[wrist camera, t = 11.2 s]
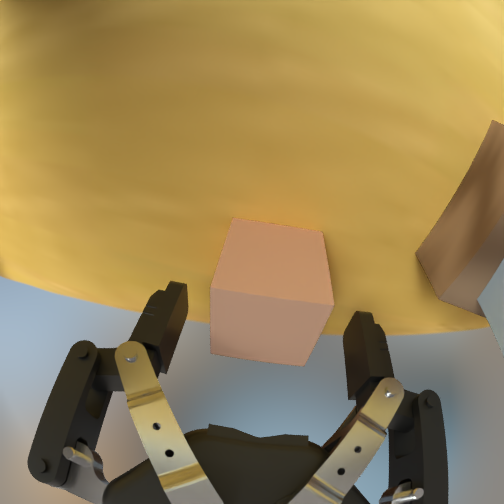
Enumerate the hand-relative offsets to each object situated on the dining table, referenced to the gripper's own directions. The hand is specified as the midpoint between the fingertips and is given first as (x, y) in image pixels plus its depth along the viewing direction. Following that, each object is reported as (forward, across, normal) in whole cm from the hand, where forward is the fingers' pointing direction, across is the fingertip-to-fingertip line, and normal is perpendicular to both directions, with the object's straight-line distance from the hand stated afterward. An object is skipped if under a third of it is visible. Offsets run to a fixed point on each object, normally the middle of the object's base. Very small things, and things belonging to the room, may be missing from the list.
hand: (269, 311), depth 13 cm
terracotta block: (+3, 0, 0) cm, 3 cm away
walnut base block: (+4, -13, -6) cm, 15 cm away
